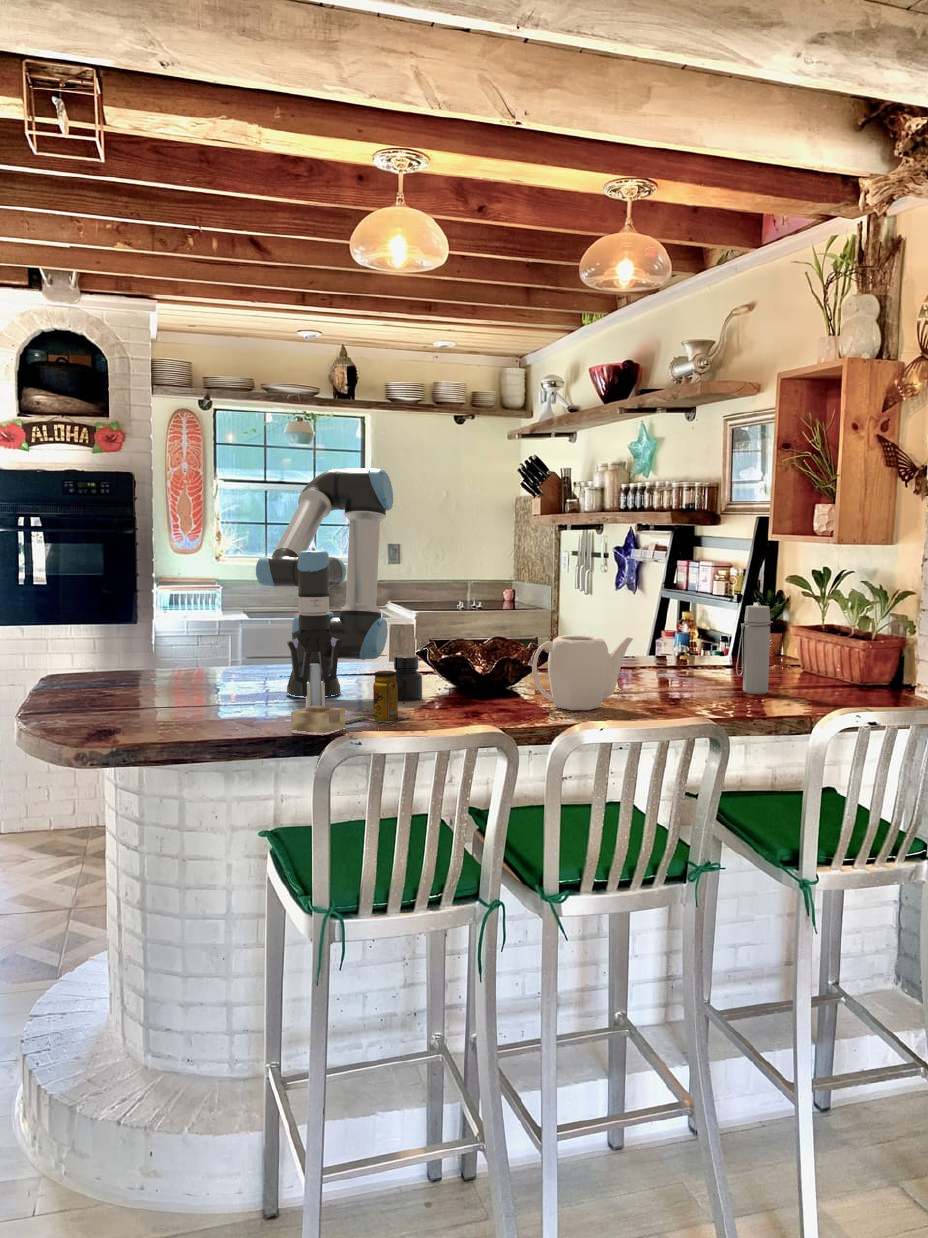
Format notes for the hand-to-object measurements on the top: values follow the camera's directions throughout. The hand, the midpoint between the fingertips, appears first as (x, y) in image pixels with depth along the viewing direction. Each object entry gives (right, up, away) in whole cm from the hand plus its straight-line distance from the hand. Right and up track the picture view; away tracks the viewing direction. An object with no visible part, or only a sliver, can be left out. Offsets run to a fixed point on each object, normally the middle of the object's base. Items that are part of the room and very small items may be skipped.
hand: (315, 708), depth 238 cm
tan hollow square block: (+3, -4, -12) cm, 13 cm away
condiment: (+18, -3, +2) cm, 18 cm away
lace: (+9, -3, -2) cm, 10 cm away
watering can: (+68, -2, +17) cm, 70 cm away
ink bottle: (+21, 0, +30) cm, 36 cm away
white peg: (0, -3, 0) cm, 3 cm away
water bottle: (+120, +1, +40) cm, 127 cm away
